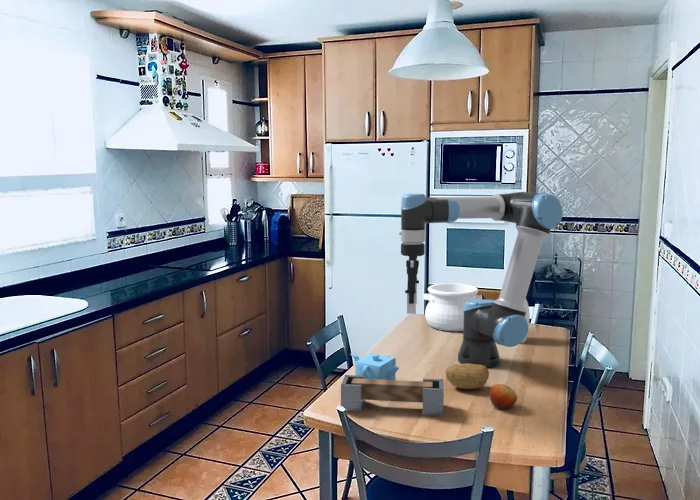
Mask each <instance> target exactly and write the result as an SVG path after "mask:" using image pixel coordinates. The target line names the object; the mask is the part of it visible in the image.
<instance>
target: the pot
mask: <svg viewBox="0 0 700 500" xmlns="http://www.w3.org/2000/svg"><path fill="white" fill-rule="evenodd" d="M427 291H428V293H424V294H423V300H425V301H428V302H427V305H426V308H425V310H424V314H425V315H424V316H425V321H426V322H427V324H428V325H429V327H432V328H433V329H436V330H438V329H439V331H443V330H444V332H463V325H464V312H463V311H464V304H465V303H466V302H467V301H471V300H483V296H482V295H481V294H479V289H478V288H477V286H474V285H470V284H465V283H452V282H451V283H450V282H449V283H448V282H447V283H444V282H443V283H437V284H432V285H429V286H428V287H427Z"/></svg>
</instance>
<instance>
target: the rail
mask: <svg viewBox="0 0 700 500" xmlns="http://www.w3.org/2000/svg"><path fill="white" fill-rule="evenodd" d="M351 384H352V385H362V400H364V401H365V400H366V401H381V402H382V401H384V402H400V403H401V402H406V403H422V404H423V388H432V387H433V382H423V380H421V381H419V380H401V379H400V380H399V379H397V380H396V379H395V380H380V379H359V378H353V380H352V382H351Z"/></svg>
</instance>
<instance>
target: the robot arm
mask: <svg viewBox="0 0 700 500" xmlns="http://www.w3.org/2000/svg"><path fill="white" fill-rule="evenodd" d="M400 202H401V203H400V218H401V219H400V220H401V221H400V225H401V226H400V231H399V236H400V240H401V242H402V243H401V244H400V254H401V256H405V257H408V259H407V260H406V261H405V266H406V275H407V288H406V289H405V290H404V293H405V294H406V314H407V315H410V314H411V315H412V314H416V313H417V312H416V311H417V310H416V309H417V304H418V303H417V302H418V284H420V280H419V279H418V274H419V273H418V272H419V266H420V260H418V257H422V256H424V255H425V252H426V250H425V248H426V247H425V245H426V244H425V241H426V224H440V223H443V224H444V223H446V224H448V223H454V222H456V221H457V220H459V219H460V220H461V219H463V220H466V219H491V220H493V221H495V222H498V221H499V222H507V223H513V224H515V225H514V226H515V229H516V231H517V236H516V239H515V242H514V245H513V249H512V253H511V256H510V259H509V262H508V266H507V269H506V272H505V277H504V280H503V283H502V287H501V289H500V293H499V296H498V298H497V299H495V300H494V299H482V300H471V301H467V302H466V303H465V304H464V311H463V312H464V325H463V331H462V332H463V333H462V334H463V338H462V342H461V344H460V347H459V351H458V354H457V360H458V363H459V364H466V363H469V364H477V365H483V366H485V367H486V368H493V367H496V366H498V365H499V364H500V353H499V350H498V347H497V344H498V345H500V346H502V347H508V348H512V347H516V346H518V345H519V344H522V343H521V342H522V341H523V340H524V339H525V337H526V336H527V337H528V333H529V329H530V328H529V327H530V325H529V326H528V324H527V323H528V322H527V320H526V319H525V314H526V310H525V308H524V302H525V298H526V299H527V296H528V295H527V294H528V293H529V292H528V291H529V288H530V284H531V281H532V278H533V274H534V271H535V267H536V264H537V261H538V257H539V254H540V251H541V247H542V245H543V242H544V241H543V240H544V239H545V238H548V237H549V236H550V233H551V230H553V229H554V228H556V227H557V226H559V224H560V223H561V221H562V218H563V212H564V211H563V206H562V204H561V201H560V200H559V199H558V197H556V196H555V195H553V194H551V193H545V192H529V191H528V192H526V191H519V192H509V193H497V194H493V195H492V196H470V197H469V196H461V197H458V196H454V197H451V196H447V197H446V196H445V197H442V196H441V197H439V196H435V197H434V196H433V197H431V196H430V197H429V196H428V197H426V194H424V193H405V194H403V195H402V197H401V201H400Z"/></svg>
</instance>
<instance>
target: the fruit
mask: <svg viewBox="0 0 700 500" xmlns="http://www.w3.org/2000/svg"><path fill="white" fill-rule="evenodd" d="M489 399H490V402H491V404H492V405H493V410H495V409H502V410H510V409H512V408H513V407H514V406H515V404H516V403H517V401H518V395H517V394H516V391H515V390H514V389H513V388H511V387H510V386H509V385H507V384H505V383H495V384H494V385H492V387H491V389H490V392H489Z"/></svg>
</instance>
